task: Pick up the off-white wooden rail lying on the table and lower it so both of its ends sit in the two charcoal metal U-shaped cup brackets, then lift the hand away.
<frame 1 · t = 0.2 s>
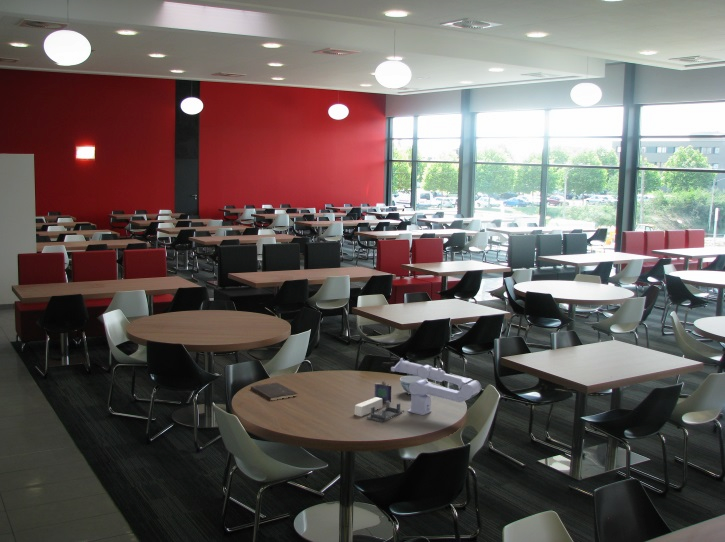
hand: (386, 362, 371), 21 cm above the table, tool horizontal, fingers open, 7 cm apart
cup brackets: (385, 415, 355), on the table
rail: (368, 411, 361), on the table
chinaware: (413, 393, 393), on the table
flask: (382, 401, 378), on the table
hardcover book: (273, 394, 387), on the table
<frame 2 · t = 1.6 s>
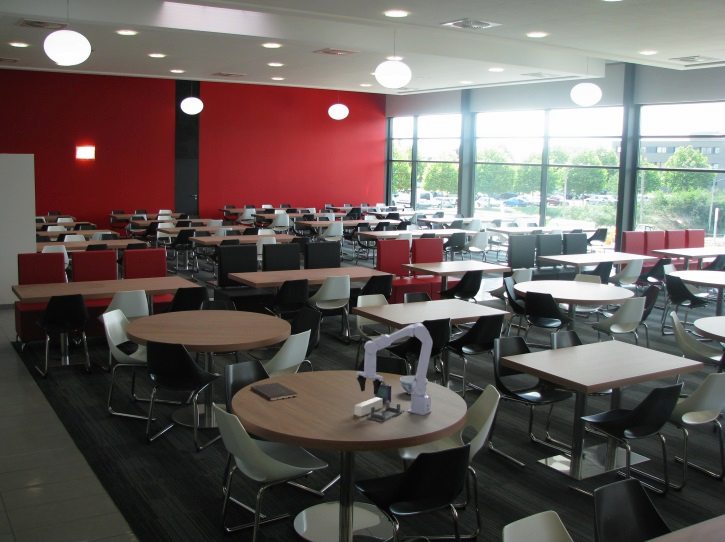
hand: (369, 392, 360), 9 cm above the table, tool pointing down, fingers open, 7 cm apart
nothing on the table moved.
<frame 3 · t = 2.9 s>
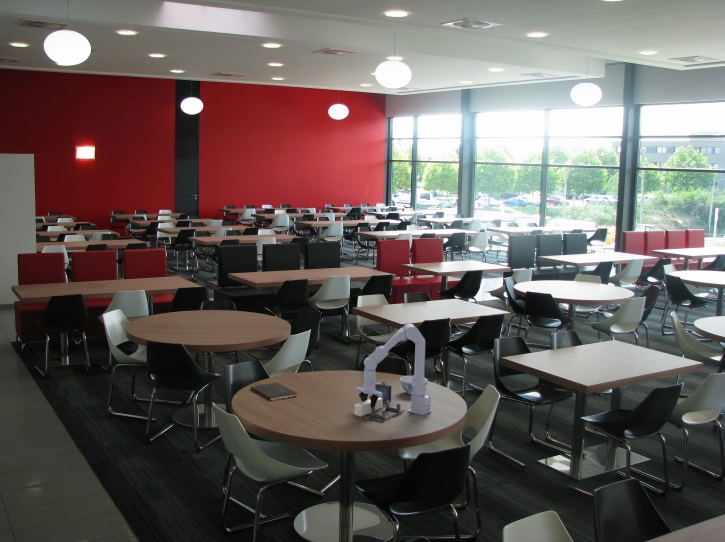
hand: (368, 408, 361), 1 cm above the table, tool pointing down, fingers closed on rail, 4 cm apart
rail: (368, 411, 361), on the table, touching gripper
everything else where it was.
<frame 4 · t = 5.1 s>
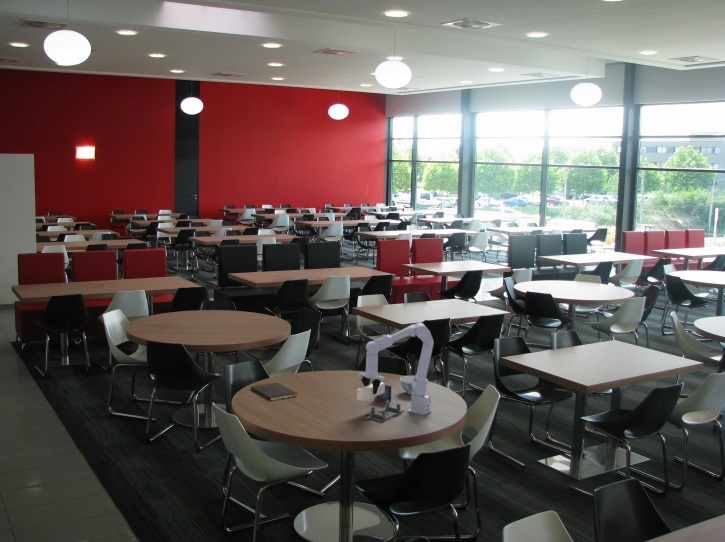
hand: (371, 393, 359), 9 cm above the table, tool pointing down, fingers closed on rail, 4 cm apart
rail: (370, 395, 359), point 8 cm above the table, touching gripper
everything else where it was.
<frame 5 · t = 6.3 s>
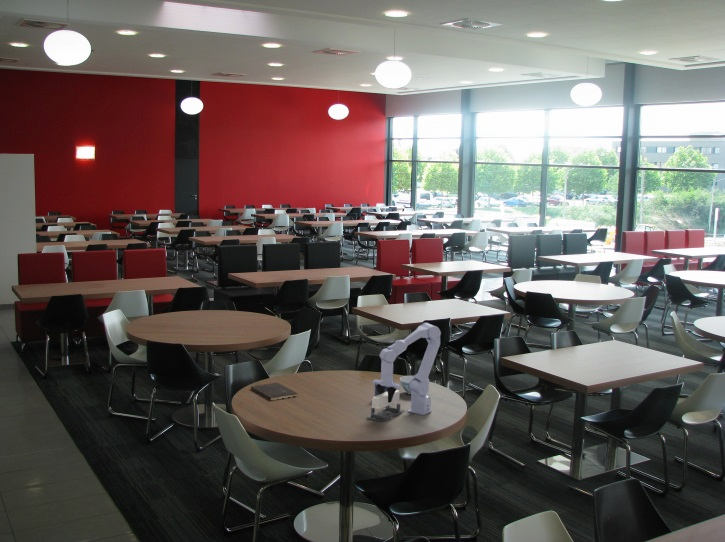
hand: (385, 401, 354), 7 cm above the table, tool pointing down, fingers closed on rail, 4 cm apart
rail: (385, 404, 355), point 6 cm above the table, touching gripper
everything else where it was.
when the fingers open (6 cm above the table, at t = 7.4 s): rail drops 2 cm, resting on cup brackets.
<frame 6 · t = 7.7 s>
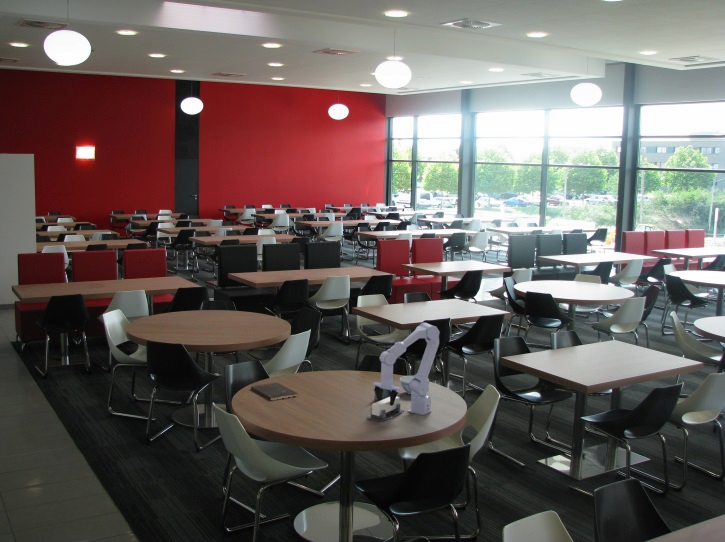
hand: (385, 403, 354), 6 cm above the table, tool pointing down, fingers open, 6 cm apart
rail: (385, 410, 355), point 2 cm above the table, touching cup brackets
everything else where it was.
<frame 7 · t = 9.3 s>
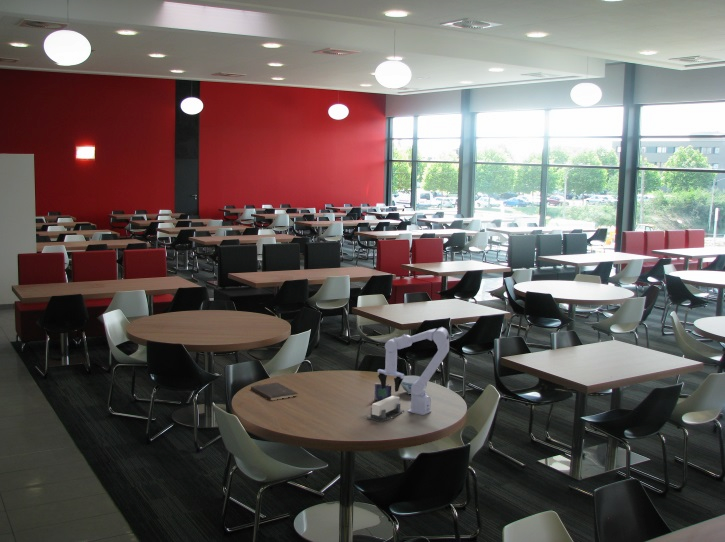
hand: (390, 389, 365), 9 cm above the table, tool pointing down, fingers open, 7 cm apart
nothing on the table moved.
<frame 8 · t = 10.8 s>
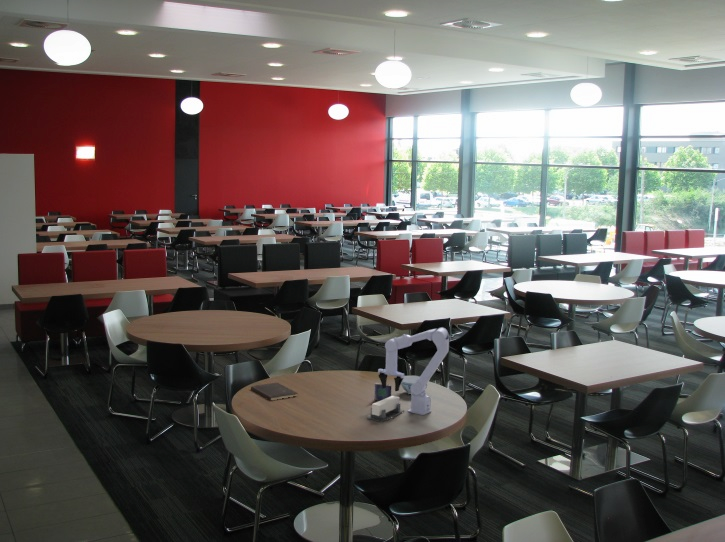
hand: (390, 389, 366), 9 cm above the table, tool pointing down, fingers open, 7 cm apart
nothing on the table moved.
at the end: rail 0.1 cm off-centre on the cup brackets, point 2.4 cm above the cup brackets's base; rail tilted 0°; the gripper is holding nothing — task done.
